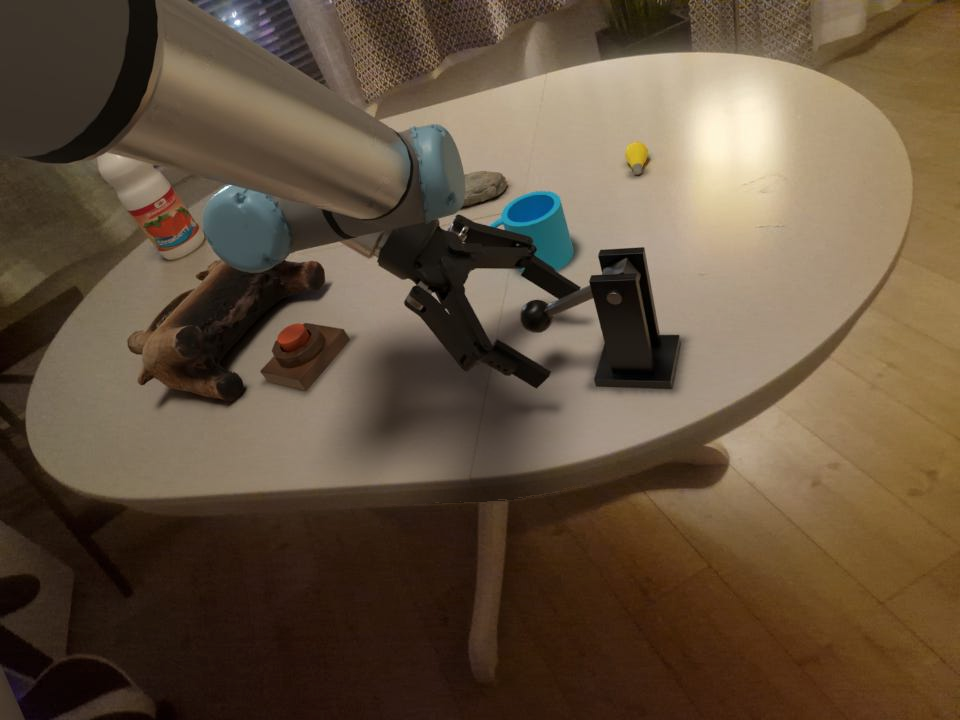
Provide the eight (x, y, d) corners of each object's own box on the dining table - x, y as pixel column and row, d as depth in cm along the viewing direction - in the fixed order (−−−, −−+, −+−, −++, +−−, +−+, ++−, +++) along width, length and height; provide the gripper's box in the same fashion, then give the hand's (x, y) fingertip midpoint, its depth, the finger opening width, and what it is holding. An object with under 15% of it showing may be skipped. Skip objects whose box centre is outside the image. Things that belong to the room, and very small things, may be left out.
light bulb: (644, 154, 102) (649, 136, 99) (646, 182, 99) (651, 165, 96) (623, 153, 102) (626, 136, 99) (624, 182, 100) (628, 164, 96)
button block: (306, 391, 86) (292, 370, 83) (267, 382, 90) (252, 362, 88) (350, 340, 91) (337, 319, 89) (311, 333, 96) (298, 313, 93)
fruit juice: (196, 230, 139) (108, 105, 121) (212, 239, 132) (122, 109, 114) (158, 255, 135) (61, 130, 117) (173, 265, 129) (73, 135, 111)
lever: (530, 343, 71) (509, 321, 70) (539, 321, 73) (519, 300, 72) (639, 298, 62) (617, 272, 60) (645, 274, 64) (624, 248, 62)
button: (297, 354, 86) (291, 345, 85) (277, 350, 88) (271, 341, 87) (315, 334, 88) (309, 324, 87) (296, 330, 91) (290, 321, 89)
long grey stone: (504, 213, 105) (513, 184, 113) (497, 183, 102) (506, 156, 109) (316, 239, 116) (335, 211, 123) (304, 213, 113) (324, 186, 120)
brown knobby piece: (291, 198, 96) (194, 222, 110) (163, 358, 80) (69, 361, 94) (341, 262, 104) (245, 276, 118) (235, 419, 88) (138, 414, 102)
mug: (575, 235, 92) (562, 185, 87) (573, 270, 87) (559, 219, 81) (495, 251, 96) (478, 204, 91) (488, 285, 90) (469, 237, 85)
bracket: (595, 387, 70) (568, 288, 61) (608, 342, 75) (584, 244, 66) (671, 389, 67) (653, 286, 58) (680, 342, 71) (665, 239, 62)
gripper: (423, 191, 79) (568, 283, 82) (328, 330, 64) (511, 437, 66) (446, 146, 73) (602, 246, 76) (347, 287, 58) (547, 406, 61)
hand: (560, 335), depth 71 cm, fingers open, 13 cm apart
